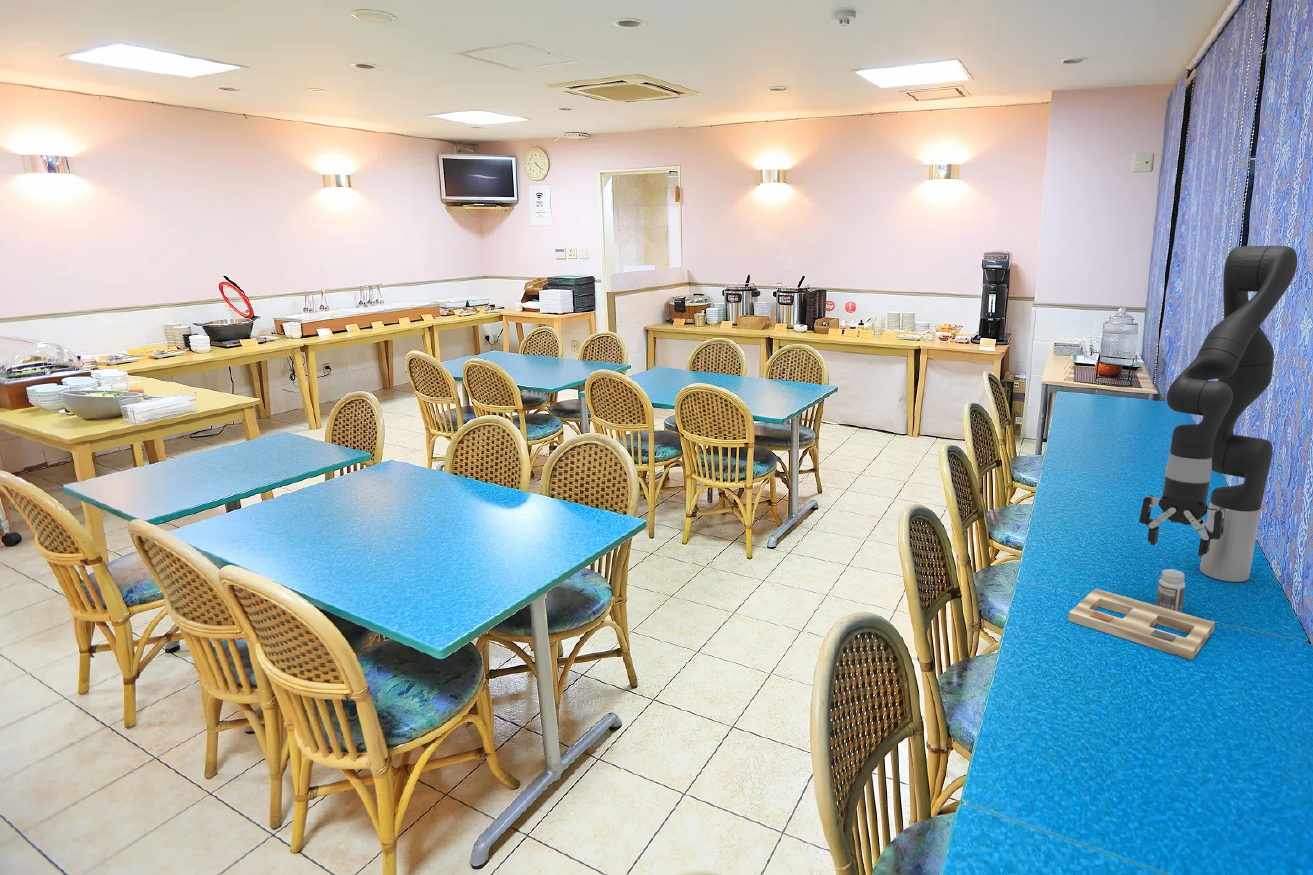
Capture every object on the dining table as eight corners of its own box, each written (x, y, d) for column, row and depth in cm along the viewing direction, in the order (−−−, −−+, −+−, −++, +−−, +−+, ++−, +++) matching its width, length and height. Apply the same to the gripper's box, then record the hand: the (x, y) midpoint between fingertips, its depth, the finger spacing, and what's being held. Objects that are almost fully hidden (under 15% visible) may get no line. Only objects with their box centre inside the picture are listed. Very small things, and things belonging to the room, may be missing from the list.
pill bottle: (1171, 602, 162) (1176, 567, 160) (1187, 613, 158) (1192, 577, 155) (1150, 604, 162) (1154, 568, 160) (1165, 614, 158) (1170, 578, 155)
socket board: (1094, 596, 166) (1095, 587, 166) (1213, 630, 150) (1215, 620, 150) (1068, 620, 157) (1069, 610, 156) (1192, 660, 141) (1193, 649, 140)
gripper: (1234, 478, 149) (1222, 553, 153) (1153, 465, 160) (1143, 535, 164) (1225, 487, 145) (1212, 564, 149) (1141, 473, 155) (1132, 545, 159)
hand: (1176, 549), depth 156 cm, fingers open, 8 cm apart
